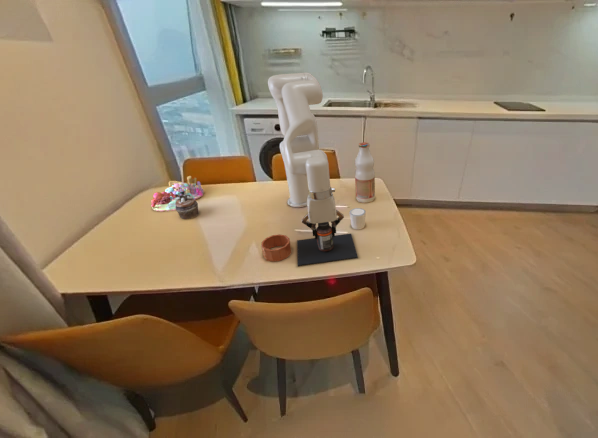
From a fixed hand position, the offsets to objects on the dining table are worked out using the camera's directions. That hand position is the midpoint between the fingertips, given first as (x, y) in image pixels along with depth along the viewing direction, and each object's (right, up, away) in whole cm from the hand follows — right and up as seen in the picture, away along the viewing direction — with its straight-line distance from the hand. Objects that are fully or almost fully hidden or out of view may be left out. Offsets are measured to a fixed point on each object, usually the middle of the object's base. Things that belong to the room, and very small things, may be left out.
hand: (324, 235), depth 119 cm
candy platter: (-80, +16, +46) cm, 94 cm away
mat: (0, -6, +3) cm, 6 cm away
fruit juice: (+16, +16, +39) cm, 45 cm away
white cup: (+13, +3, +17) cm, 22 cm away
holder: (-18, -7, +3) cm, 20 cm away
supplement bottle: (0, -5, +3) cm, 6 cm away
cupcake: (-67, +8, +31) cm, 74 cm away
